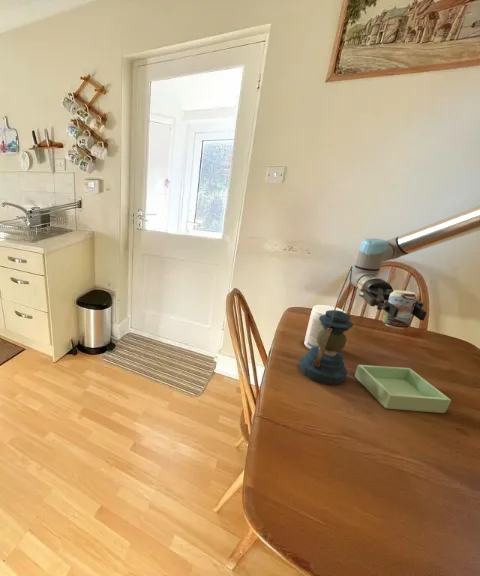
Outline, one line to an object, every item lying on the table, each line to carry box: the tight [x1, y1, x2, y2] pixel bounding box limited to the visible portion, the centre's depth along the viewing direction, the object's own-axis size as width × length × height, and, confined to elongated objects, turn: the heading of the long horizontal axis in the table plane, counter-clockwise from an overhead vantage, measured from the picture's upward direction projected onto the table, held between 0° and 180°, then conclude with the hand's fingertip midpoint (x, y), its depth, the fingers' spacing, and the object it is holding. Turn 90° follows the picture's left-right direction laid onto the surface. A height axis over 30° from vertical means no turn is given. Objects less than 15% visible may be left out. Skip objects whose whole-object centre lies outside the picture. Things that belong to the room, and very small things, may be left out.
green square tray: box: [354, 364, 452, 414], centre depth 87 cm, size 14×14×4 cm
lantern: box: [299, 265, 354, 386], centre depth 90 cm, size 14×12×35 cm
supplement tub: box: [303, 304, 347, 350], centre depth 107 cm, size 10×10×15 cm
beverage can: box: [382, 289, 418, 330], centre depth 98 cm, size 6×7×12 cm
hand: (409, 314), depth 94 cm, fingers closed on beverage can, 6 cm apart
